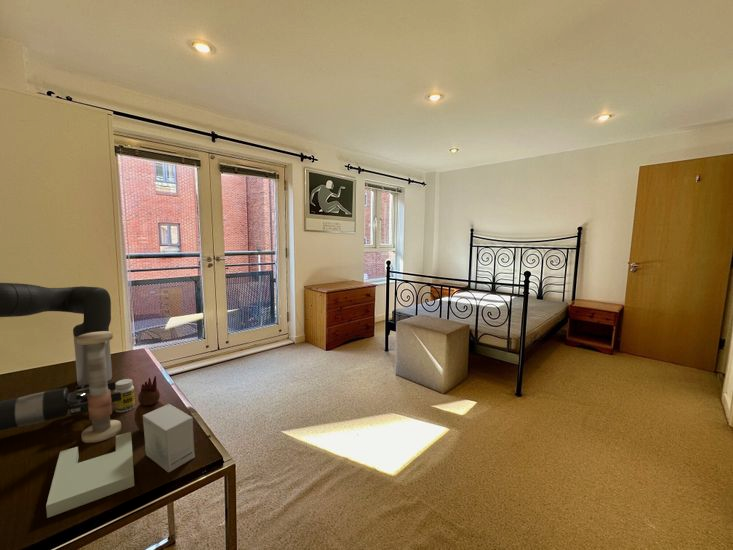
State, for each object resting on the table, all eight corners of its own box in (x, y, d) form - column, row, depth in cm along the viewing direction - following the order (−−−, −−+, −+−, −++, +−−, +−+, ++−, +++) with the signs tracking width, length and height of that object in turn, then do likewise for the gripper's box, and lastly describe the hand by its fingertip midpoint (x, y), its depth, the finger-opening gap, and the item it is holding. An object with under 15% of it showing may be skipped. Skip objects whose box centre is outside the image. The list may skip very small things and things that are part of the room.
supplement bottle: (124, 413, 92) (122, 386, 91) (110, 411, 93) (109, 384, 92) (139, 405, 97) (137, 379, 96) (126, 403, 98) (124, 377, 97)
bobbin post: (83, 430, 84) (74, 333, 81) (121, 420, 89) (115, 328, 86) (80, 447, 78) (71, 342, 74) (121, 435, 83) (114, 337, 79)
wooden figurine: (170, 426, 87) (167, 373, 85) (149, 438, 82) (146, 383, 80) (152, 420, 89) (149, 369, 87) (131, 432, 84) (127, 378, 82)
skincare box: (143, 455, 76) (141, 414, 74) (172, 441, 81) (170, 402, 80) (167, 474, 70) (164, 430, 69) (195, 457, 76) (194, 416, 74)
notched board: (61, 461, 73) (60, 451, 72) (131, 440, 81) (131, 431, 80) (47, 517, 59) (46, 505, 58) (134, 485, 67) (133, 474, 66)
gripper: (36, 404, 78) (120, 387, 88) (47, 382, 89) (120, 369, 99) (39, 433, 79) (122, 412, 89) (49, 407, 90) (121, 392, 100)
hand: (121, 389), depth 94 cm, fingers open, 8 cm apart
